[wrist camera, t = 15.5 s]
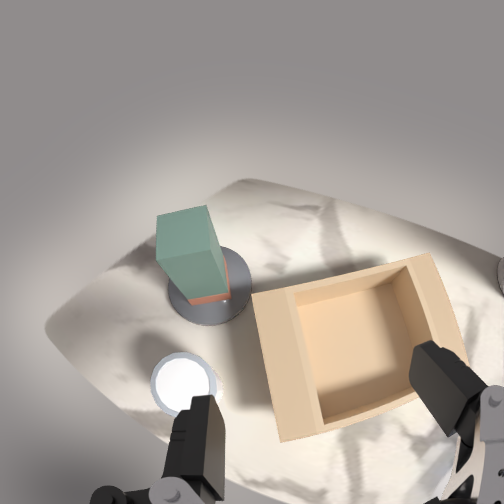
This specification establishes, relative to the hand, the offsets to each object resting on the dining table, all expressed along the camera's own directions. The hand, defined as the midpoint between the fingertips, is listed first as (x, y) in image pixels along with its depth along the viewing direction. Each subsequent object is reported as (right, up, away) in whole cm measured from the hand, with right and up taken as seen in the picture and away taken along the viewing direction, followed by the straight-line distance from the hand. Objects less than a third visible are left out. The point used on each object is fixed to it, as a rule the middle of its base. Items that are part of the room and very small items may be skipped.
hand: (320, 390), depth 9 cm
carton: (+10, -7, +21) cm, 24 cm away
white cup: (-9, -11, +20) cm, 25 cm away
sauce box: (-8, +1, +26) cm, 27 cm away
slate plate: (-8, +1, +27) cm, 28 cm away
